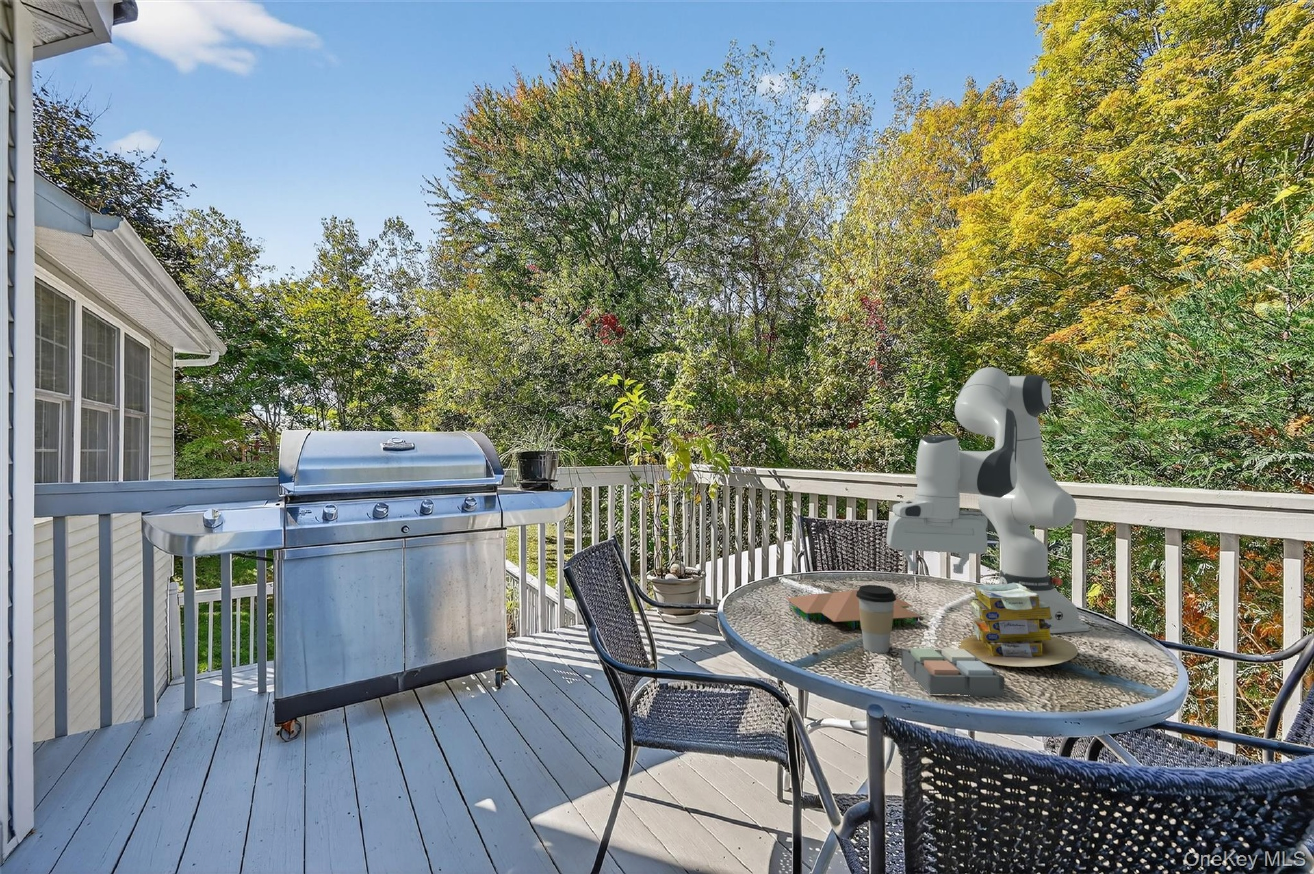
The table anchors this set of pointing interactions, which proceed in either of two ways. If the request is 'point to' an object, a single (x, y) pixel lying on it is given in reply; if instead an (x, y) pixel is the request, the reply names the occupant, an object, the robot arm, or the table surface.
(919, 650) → the key sage
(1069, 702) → the table surface
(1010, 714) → the table surface
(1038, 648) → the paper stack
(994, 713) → the table surface
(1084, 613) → the table surface
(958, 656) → the key cream
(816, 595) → the house
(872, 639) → the coffee cup
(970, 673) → the key bluegrey
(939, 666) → the key terracotta
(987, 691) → the keypad
